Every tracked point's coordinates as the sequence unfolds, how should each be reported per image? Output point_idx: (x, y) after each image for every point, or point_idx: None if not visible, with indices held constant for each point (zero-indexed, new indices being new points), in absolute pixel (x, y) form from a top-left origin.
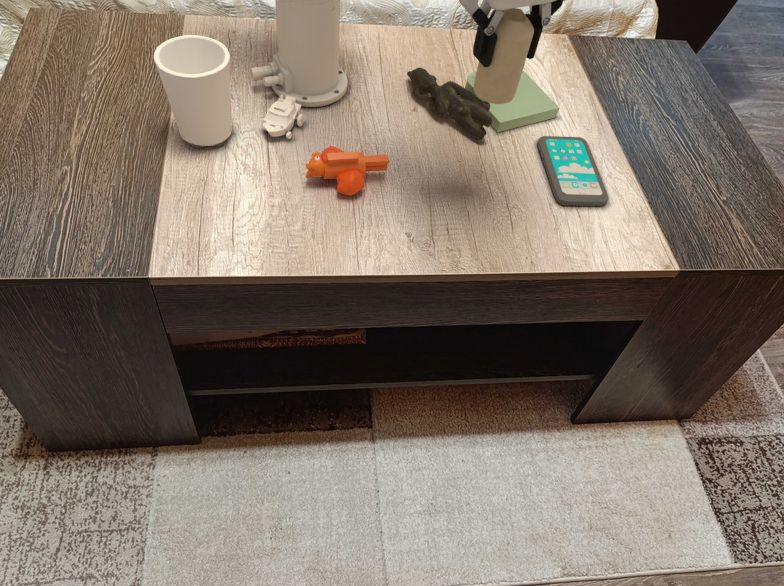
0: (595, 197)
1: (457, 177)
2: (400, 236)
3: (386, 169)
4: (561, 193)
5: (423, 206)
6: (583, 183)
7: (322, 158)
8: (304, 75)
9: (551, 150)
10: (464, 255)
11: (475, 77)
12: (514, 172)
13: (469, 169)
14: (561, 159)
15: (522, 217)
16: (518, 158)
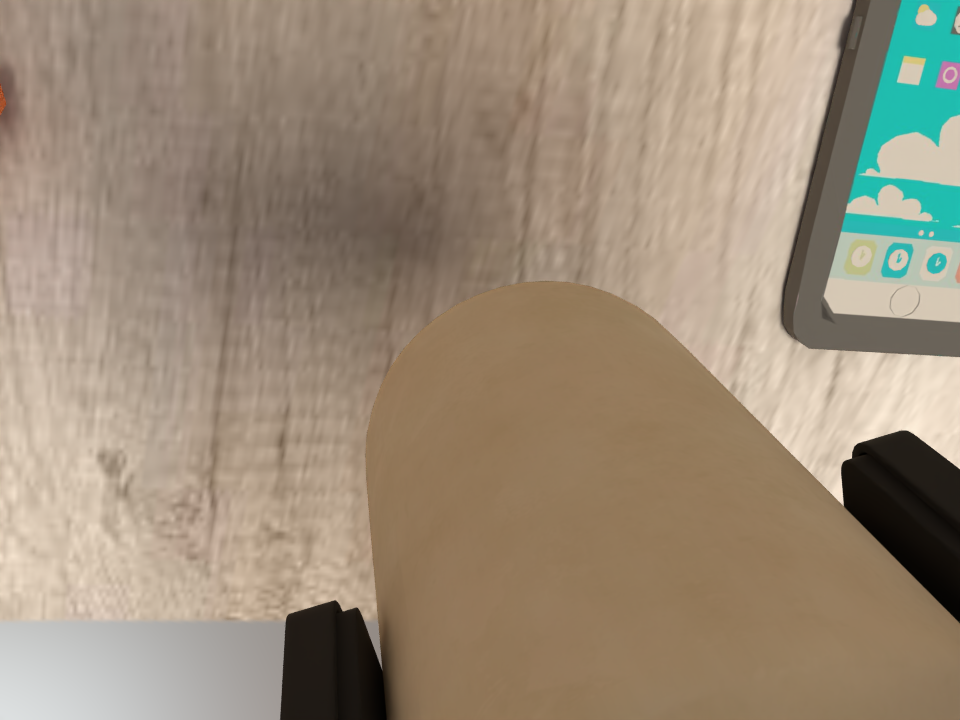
0: (939, 334)
1: (393, 134)
2: (76, 469)
3: (3, 106)
4: (814, 308)
5: (195, 312)
6: (936, 253)
7: None
8: None
9: (913, 12)
10: (323, 558)
11: (371, 462)
12: (678, 118)
13: (467, 80)
14: (926, 85)
15: None
16: (737, 16)
